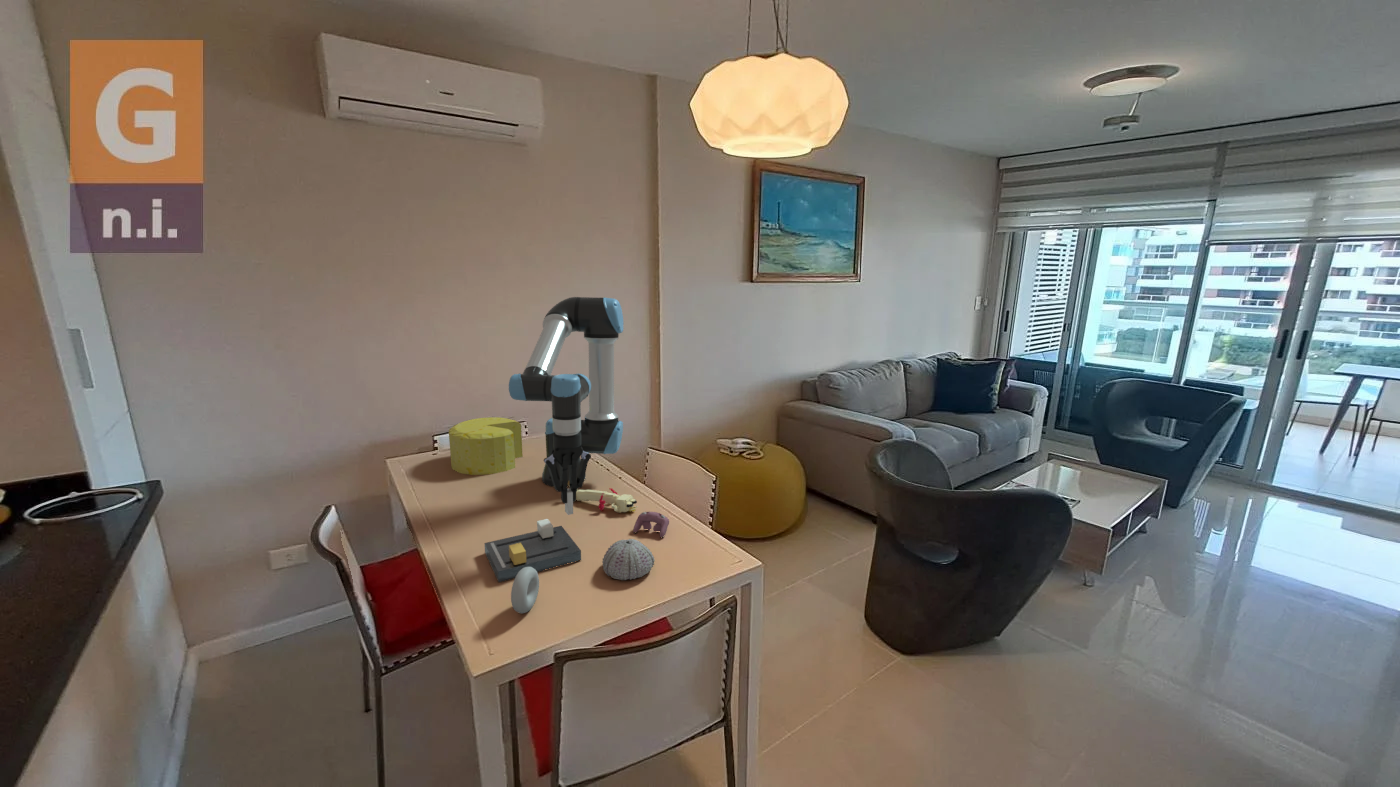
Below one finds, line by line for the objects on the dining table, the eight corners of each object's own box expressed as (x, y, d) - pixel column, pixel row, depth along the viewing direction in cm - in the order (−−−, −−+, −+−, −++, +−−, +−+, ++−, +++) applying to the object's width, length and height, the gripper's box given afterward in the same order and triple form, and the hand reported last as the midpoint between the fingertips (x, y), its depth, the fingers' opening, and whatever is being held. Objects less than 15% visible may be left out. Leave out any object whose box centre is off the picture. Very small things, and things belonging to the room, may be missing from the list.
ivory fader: (548, 528, 158) (547, 518, 157) (553, 536, 154) (553, 525, 153) (537, 530, 156) (536, 521, 156) (542, 538, 152) (542, 528, 152)
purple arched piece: (668, 539, 164) (672, 514, 165) (662, 539, 160) (667, 514, 161) (637, 533, 167) (641, 509, 168) (631, 533, 163) (635, 508, 164)
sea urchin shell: (592, 578, 140) (591, 549, 139) (617, 552, 153) (617, 525, 151) (639, 589, 136) (639, 560, 134) (662, 562, 148) (662, 535, 147)
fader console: (561, 535, 161) (561, 525, 160) (581, 560, 148) (580, 550, 147) (485, 553, 150) (484, 542, 150) (498, 582, 137) (497, 571, 136)
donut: (528, 595, 132) (526, 557, 130) (542, 597, 132) (540, 558, 129) (509, 622, 123) (506, 581, 120) (524, 623, 122) (522, 582, 120)
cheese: (537, 462, 217) (535, 425, 214) (473, 481, 198) (470, 440, 194) (501, 446, 234) (499, 412, 230) (438, 462, 214) (435, 425, 211)
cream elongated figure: (560, 508, 181) (628, 517, 172) (558, 483, 179) (626, 490, 170) (578, 497, 190) (643, 504, 181) (575, 472, 188) (641, 479, 179)
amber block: (521, 553, 145) (520, 542, 144) (526, 562, 140) (525, 551, 140) (509, 556, 143) (508, 545, 142) (514, 565, 139) (513, 554, 138)
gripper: (585, 425, 159) (586, 503, 164) (539, 431, 152) (542, 512, 157) (594, 432, 152) (596, 512, 157) (547, 438, 146) (550, 522, 151)
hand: (569, 512), depth 157 cm, fingers closed
